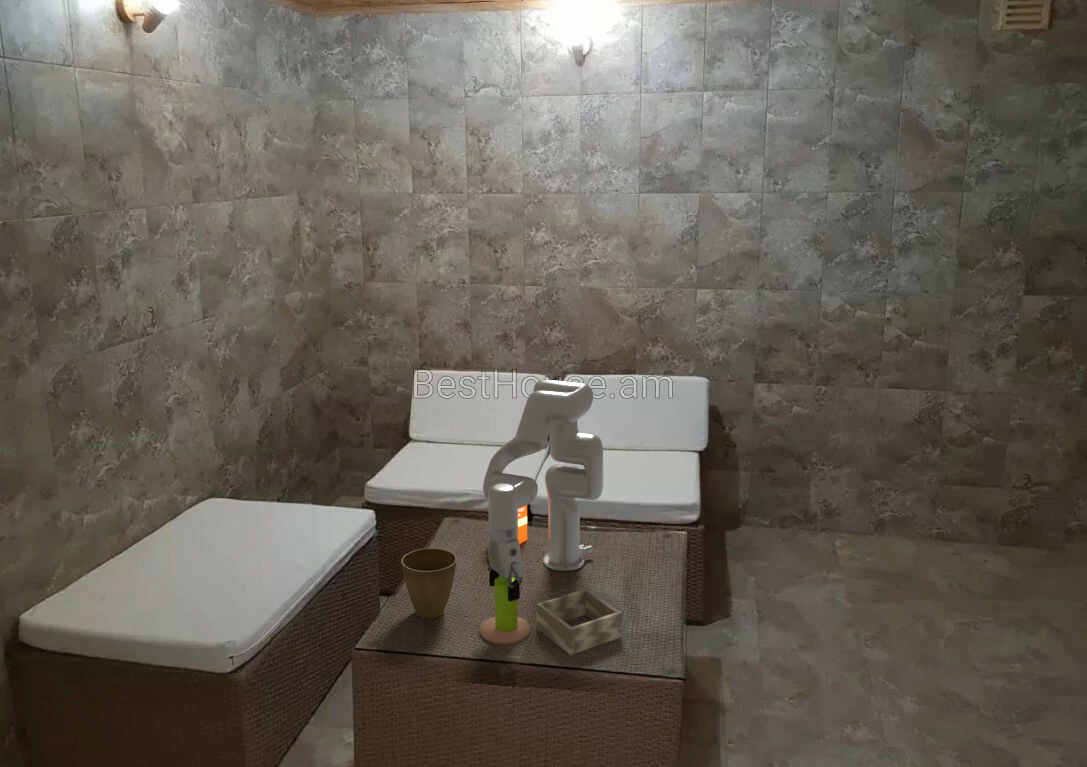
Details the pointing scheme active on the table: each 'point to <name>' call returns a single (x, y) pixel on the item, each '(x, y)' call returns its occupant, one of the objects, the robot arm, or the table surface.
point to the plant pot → (429, 579)
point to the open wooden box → (583, 635)
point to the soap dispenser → (504, 605)
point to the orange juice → (522, 524)
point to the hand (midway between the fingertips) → (504, 592)
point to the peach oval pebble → (501, 637)
